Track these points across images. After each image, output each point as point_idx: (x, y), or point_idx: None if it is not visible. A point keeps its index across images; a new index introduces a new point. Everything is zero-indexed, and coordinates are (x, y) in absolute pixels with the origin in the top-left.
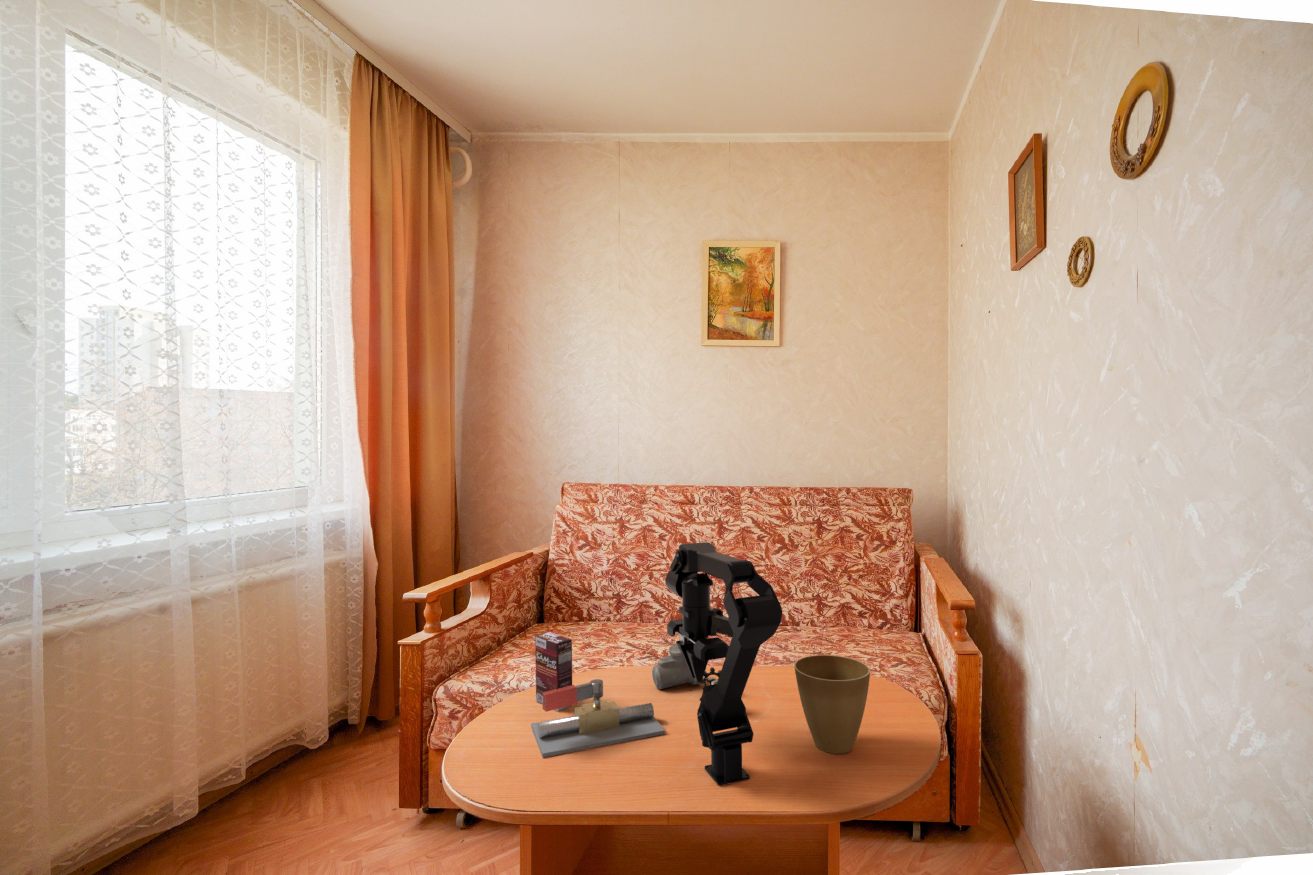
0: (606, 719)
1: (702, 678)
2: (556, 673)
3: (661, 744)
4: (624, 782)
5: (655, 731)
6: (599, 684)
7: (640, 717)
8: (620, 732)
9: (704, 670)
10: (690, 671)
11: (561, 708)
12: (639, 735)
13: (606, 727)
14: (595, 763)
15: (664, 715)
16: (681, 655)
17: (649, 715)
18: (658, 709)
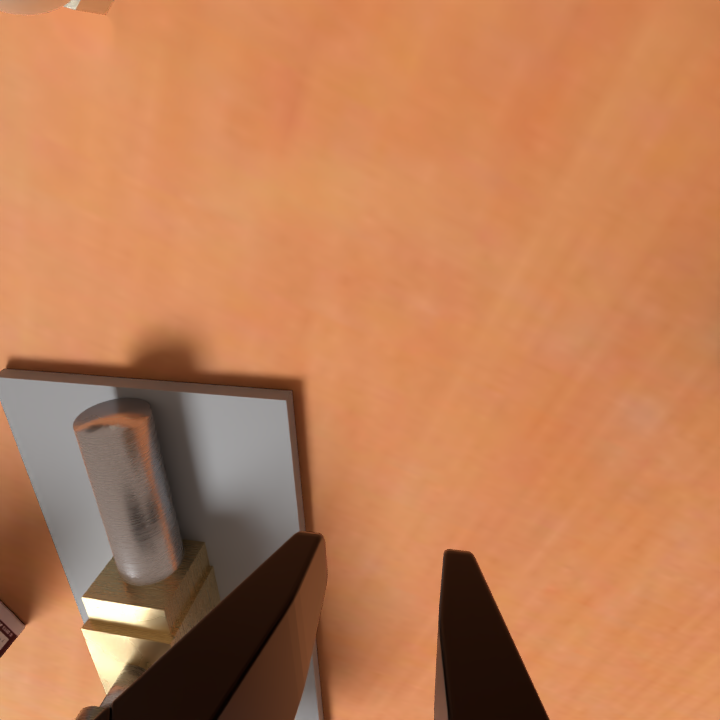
0: (197, 620)
1: (483, 581)
2: None
3: (384, 443)
4: (603, 655)
5: (284, 441)
6: None
7: (164, 471)
8: (251, 554)
9: (538, 712)
10: (300, 685)
11: (12, 619)
12: (297, 507)
13: (212, 591)
14: (426, 669)
15: (99, 313)
16: None
17: (154, 433)
18: (30, 313)
